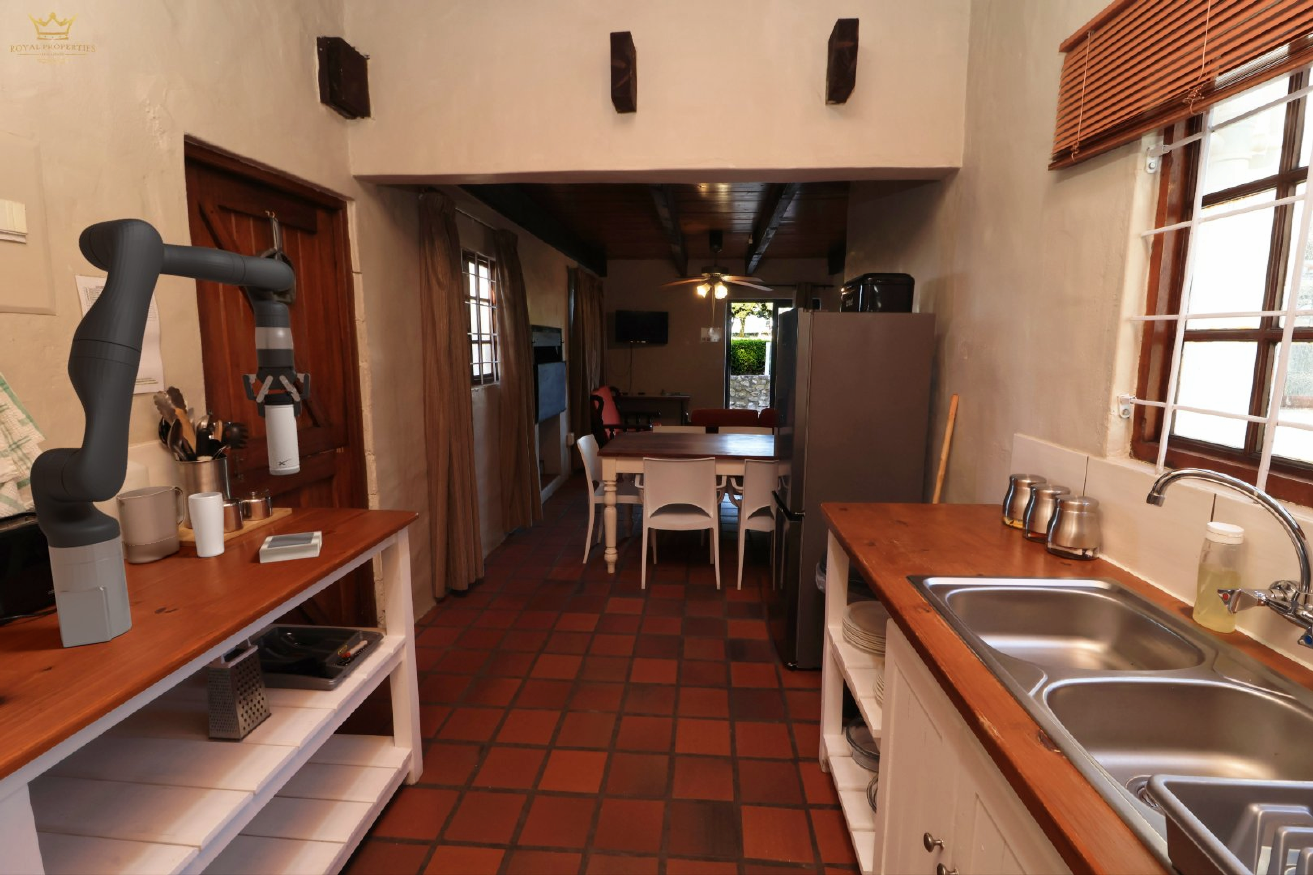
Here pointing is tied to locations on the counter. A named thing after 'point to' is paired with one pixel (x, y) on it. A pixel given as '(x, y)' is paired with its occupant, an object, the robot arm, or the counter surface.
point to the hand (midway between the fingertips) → (280, 417)
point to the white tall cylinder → (207, 522)
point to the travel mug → (281, 433)
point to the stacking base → (291, 547)
